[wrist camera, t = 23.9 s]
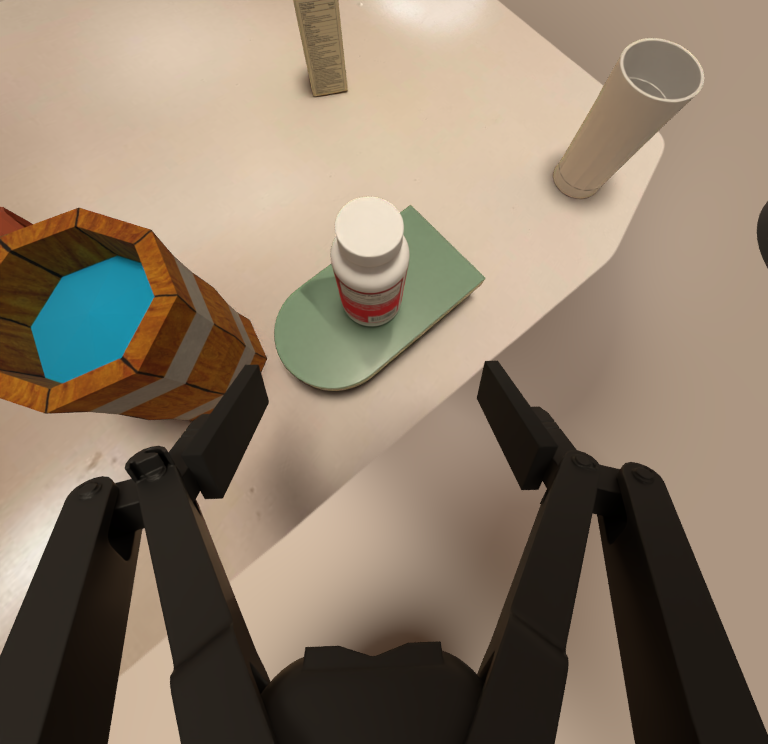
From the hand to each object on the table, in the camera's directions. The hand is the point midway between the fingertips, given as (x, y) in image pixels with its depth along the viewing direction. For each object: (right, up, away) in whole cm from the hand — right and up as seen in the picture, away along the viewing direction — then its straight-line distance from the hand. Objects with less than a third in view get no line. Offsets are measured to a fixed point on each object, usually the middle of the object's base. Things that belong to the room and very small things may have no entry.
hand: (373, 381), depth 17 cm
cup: (+27, +27, +22) cm, 44 cm away
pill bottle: (-1, +8, +13) cm, 15 cm away
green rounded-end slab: (-1, +7, +17) cm, 18 cm away
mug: (-22, +4, +16) cm, 27 cm away
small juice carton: (-7, +42, +24) cm, 49 cm away
